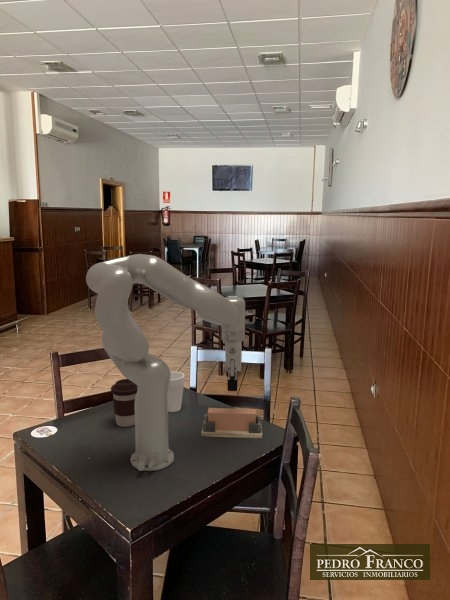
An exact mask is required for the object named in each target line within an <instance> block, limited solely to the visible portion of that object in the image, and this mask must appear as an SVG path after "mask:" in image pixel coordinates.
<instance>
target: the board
mask: <svg viewBox="0 0 450 600" xmlns="http://www.w3.org/2000/svg"><path fill="white" fill-rule="evenodd" d="M261 419H262V417H261V415H257V414H256V423H249V431H236V430H215V422H208V413H205V414H204V416H203V421H202V428H201V434H200V436H201V437H208V438H209V437H211V438H238V439H239V438H241V439H244V438H246V439H263V428H262V420H261Z"/></svg>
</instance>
